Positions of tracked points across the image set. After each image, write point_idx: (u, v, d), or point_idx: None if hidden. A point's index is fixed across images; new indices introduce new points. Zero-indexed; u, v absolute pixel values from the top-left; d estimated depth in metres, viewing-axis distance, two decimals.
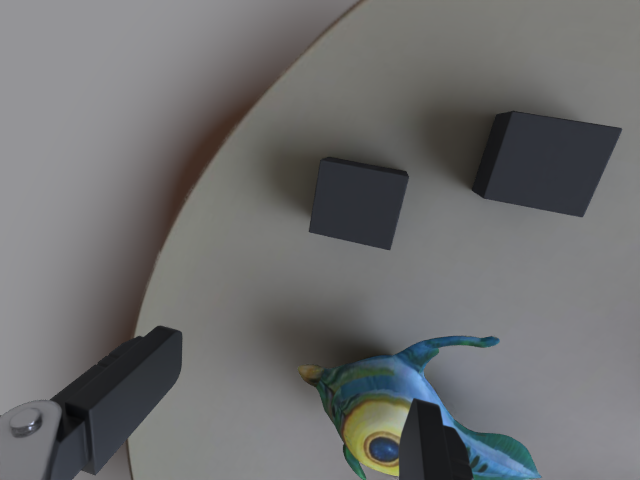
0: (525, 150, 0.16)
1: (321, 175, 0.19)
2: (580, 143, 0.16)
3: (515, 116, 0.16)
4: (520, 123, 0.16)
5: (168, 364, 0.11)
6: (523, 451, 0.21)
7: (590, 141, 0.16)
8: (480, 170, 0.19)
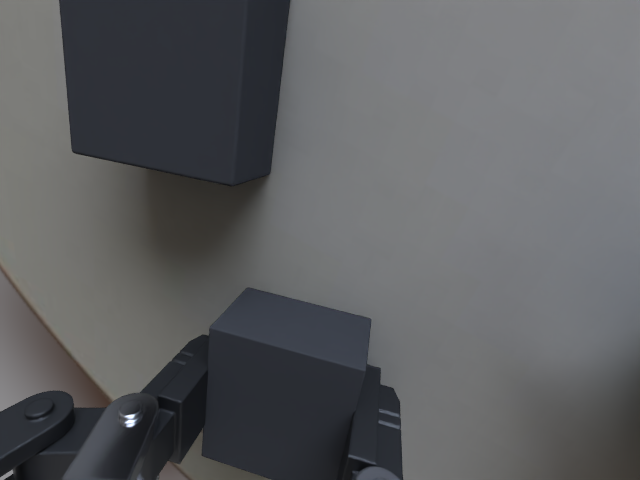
0: (127, 113, 0.08)
1: (226, 459, 0.11)
2: None
3: (77, 144, 0.08)
4: (86, 133, 0.08)
5: None
6: None
7: None
8: None
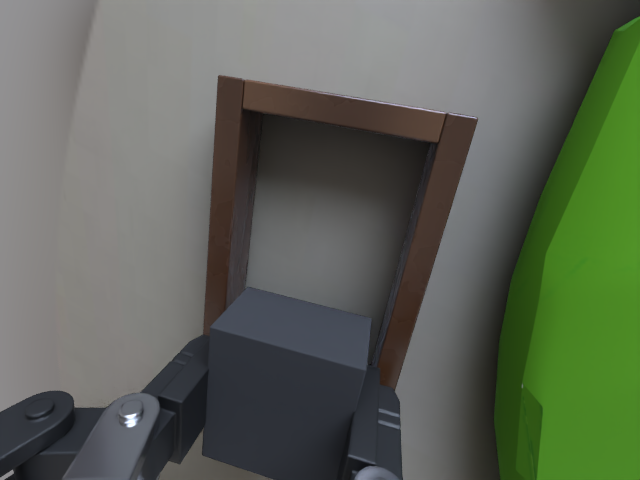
0: None
1: (226, 459, 0.10)
2: None
3: None
4: None
5: None
6: None
7: None
8: None
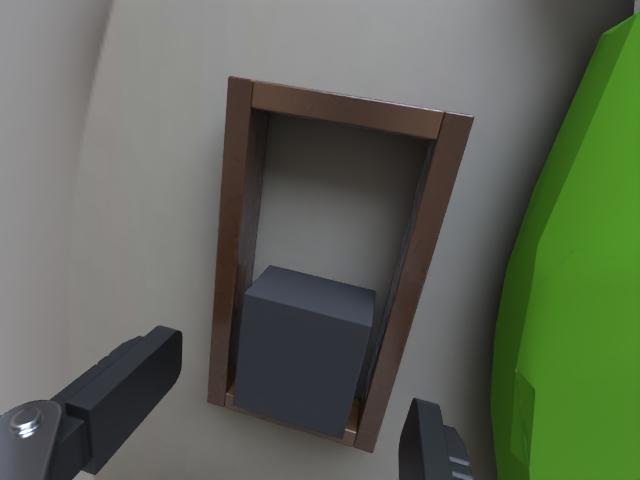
0: None
1: (253, 407, 0.13)
2: None
3: None
4: None
5: (168, 364, 0.11)
6: None
7: None
8: None
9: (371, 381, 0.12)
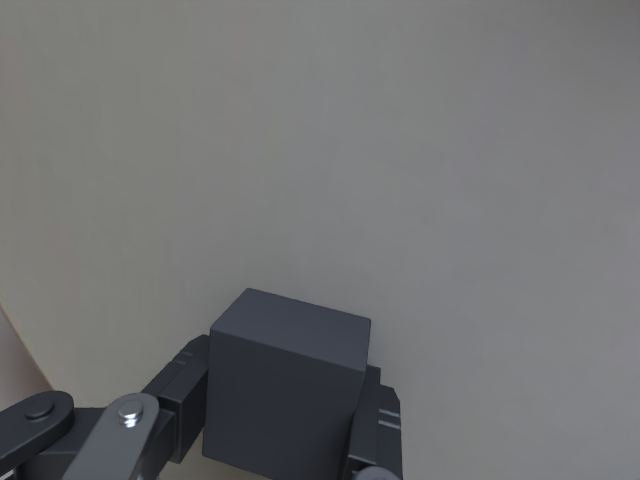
0: (252, 445, 0.10)
1: None
2: (237, 380, 0.09)
3: (207, 453, 0.11)
4: (216, 448, 0.10)
5: None
6: None
7: (232, 367, 0.09)
8: None
9: None
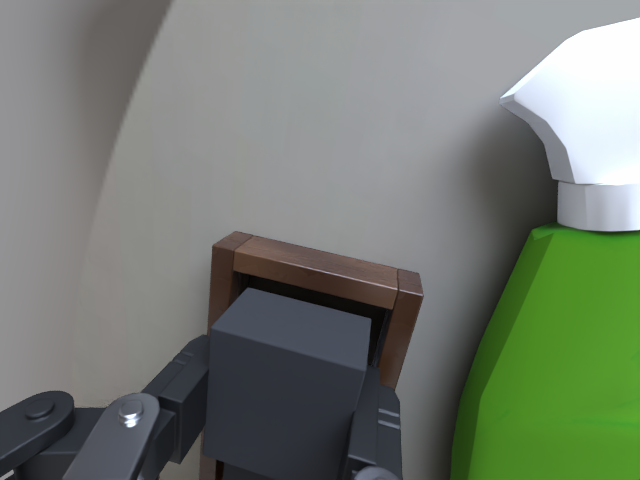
0: (253, 444, 0.10)
1: None
2: (237, 379, 0.09)
3: (208, 452, 0.11)
4: (216, 447, 0.10)
5: None
6: None
7: (233, 367, 0.09)
8: None
9: None
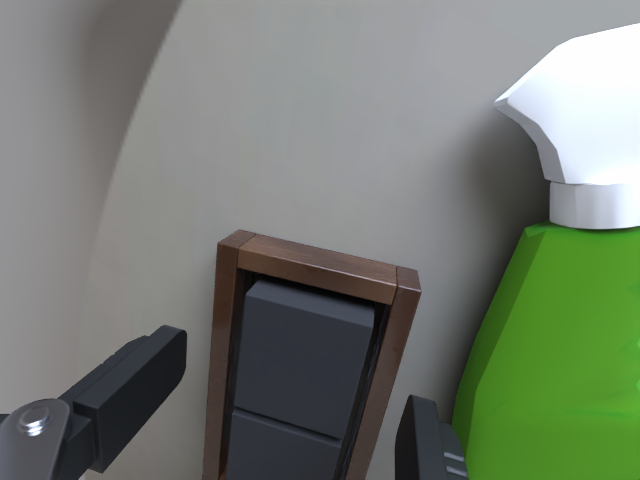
0: (277, 394, 0.12)
1: None
2: (266, 338, 0.11)
3: (239, 403, 0.13)
4: (246, 398, 0.12)
5: (173, 363, 0.11)
6: None
7: (263, 327, 0.11)
8: None
9: None
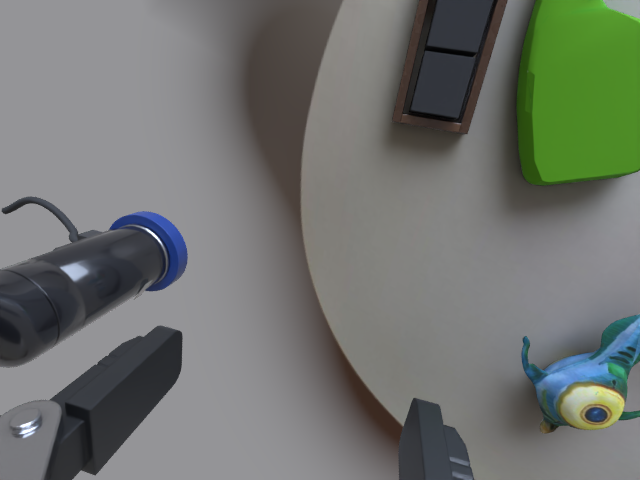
0: (449, 32, 0.28)
1: (420, 109, 0.31)
2: (449, 0, 0.28)
3: (429, 42, 0.29)
4: (434, 39, 0.29)
5: (168, 364, 0.11)
6: (618, 323, 0.32)
7: None
8: None
9: (469, 95, 0.30)
